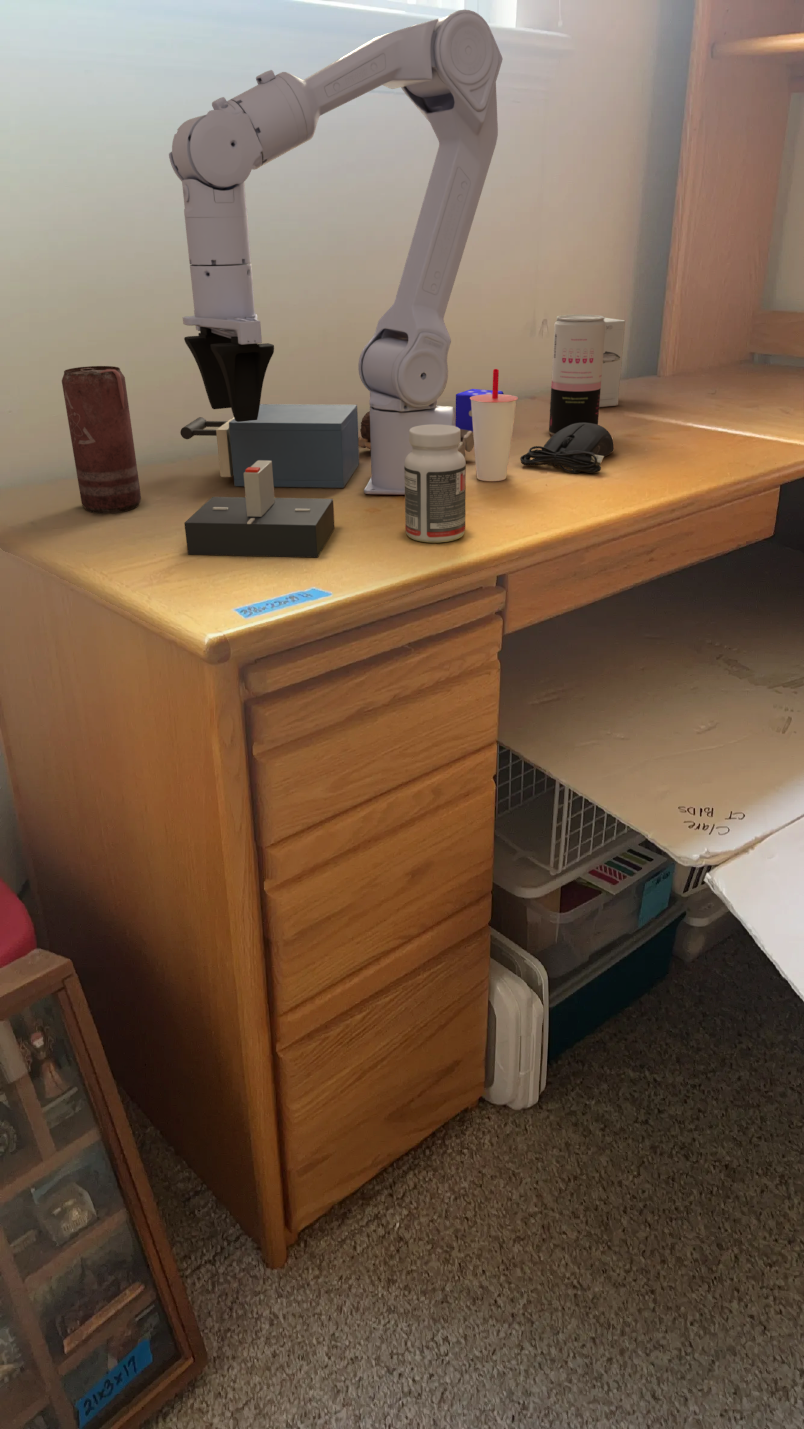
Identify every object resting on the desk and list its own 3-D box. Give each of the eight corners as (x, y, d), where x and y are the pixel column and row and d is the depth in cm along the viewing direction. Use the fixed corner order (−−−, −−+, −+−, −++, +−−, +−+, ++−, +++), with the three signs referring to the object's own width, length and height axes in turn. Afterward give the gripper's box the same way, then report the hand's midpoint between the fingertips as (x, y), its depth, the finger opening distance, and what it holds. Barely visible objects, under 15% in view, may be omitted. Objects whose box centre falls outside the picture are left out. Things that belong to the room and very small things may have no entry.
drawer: (178, 476, 112) (173, 429, 110) (205, 456, 122) (200, 411, 119) (319, 478, 111) (317, 430, 108) (335, 457, 120) (333, 412, 117)
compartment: (234, 486, 112) (228, 422, 108) (258, 462, 122) (254, 403, 119) (343, 488, 110) (341, 423, 107) (359, 464, 121) (357, 404, 117)
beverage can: (553, 428, 138) (559, 314, 132) (600, 430, 136) (609, 314, 130) (544, 437, 133) (550, 318, 126) (593, 440, 131) (602, 319, 124)
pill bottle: (472, 529, 95) (474, 424, 91) (455, 546, 91) (457, 437, 86) (415, 524, 97) (415, 421, 93) (396, 541, 92) (395, 433, 88)
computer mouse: (636, 451, 125) (639, 420, 123) (596, 476, 114) (599, 442, 112) (561, 444, 129) (563, 413, 128) (516, 467, 118) (517, 434, 116)
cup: (510, 484, 111) (514, 373, 105) (463, 482, 112) (465, 371, 106) (518, 473, 115) (522, 366, 110) (473, 471, 117) (475, 364, 111)
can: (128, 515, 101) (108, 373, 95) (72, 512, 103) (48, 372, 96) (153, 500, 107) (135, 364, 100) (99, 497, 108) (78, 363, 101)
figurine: (481, 468, 126) (381, 448, 132) (488, 425, 124) (387, 407, 130) (454, 470, 119) (350, 449, 125) (460, 425, 117) (355, 406, 123)
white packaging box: (580, 410, 150) (586, 322, 144) (553, 403, 156) (557, 318, 150) (619, 406, 153) (627, 319, 147) (590, 399, 159) (597, 315, 153)
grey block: (260, 502, 94) (257, 457, 92) (275, 502, 94) (271, 457, 92) (247, 516, 89) (242, 470, 87) (262, 517, 89) (258, 470, 87)
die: (454, 430, 138) (455, 393, 136) (471, 424, 142) (471, 388, 139) (486, 434, 136) (487, 396, 133) (502, 427, 139) (503, 390, 137)
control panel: (334, 528, 96) (333, 496, 95) (317, 558, 88) (315, 523, 87) (215, 526, 98) (212, 494, 96) (187, 555, 89) (183, 521, 88)
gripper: (158, 262, 96) (175, 406, 102) (201, 269, 85) (217, 430, 91) (228, 260, 99) (240, 400, 105) (278, 266, 87) (288, 422, 94)
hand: (234, 414), depth 98 cm, fingers open, 7 cm apart
